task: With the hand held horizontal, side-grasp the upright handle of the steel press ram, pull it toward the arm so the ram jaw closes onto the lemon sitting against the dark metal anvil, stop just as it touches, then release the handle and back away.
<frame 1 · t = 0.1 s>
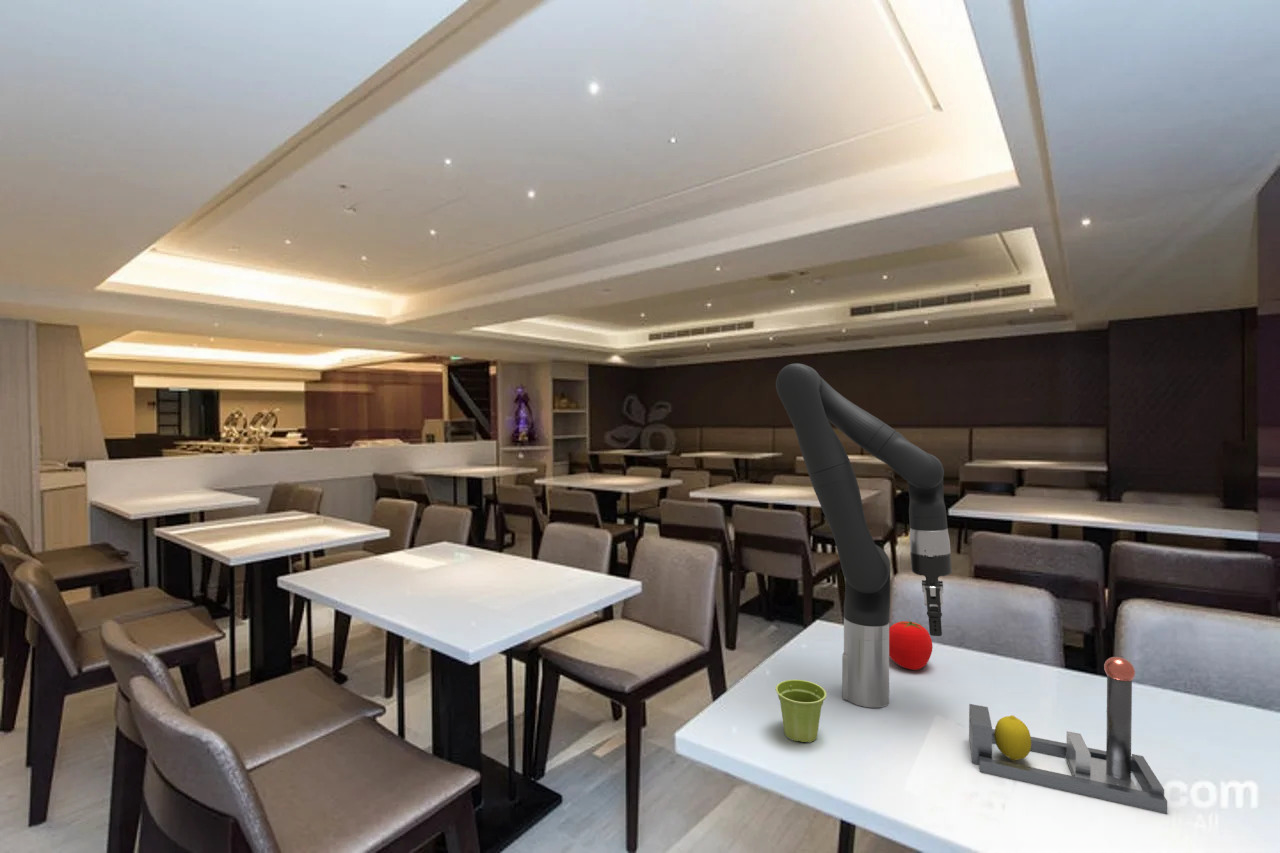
hand: (935, 628, 122), 17 cm above the table, tool pointing down, fingers open, 8 cm apart
plant pot: (800, 736, 113), on the table
ram: (1102, 716, 99), point 11 cm above the table, slide at 0.0 cm
lemon: (1012, 761, 105), resting in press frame
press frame: (1049, 768, 102), on the table
tomato: (909, 666, 144), on the table
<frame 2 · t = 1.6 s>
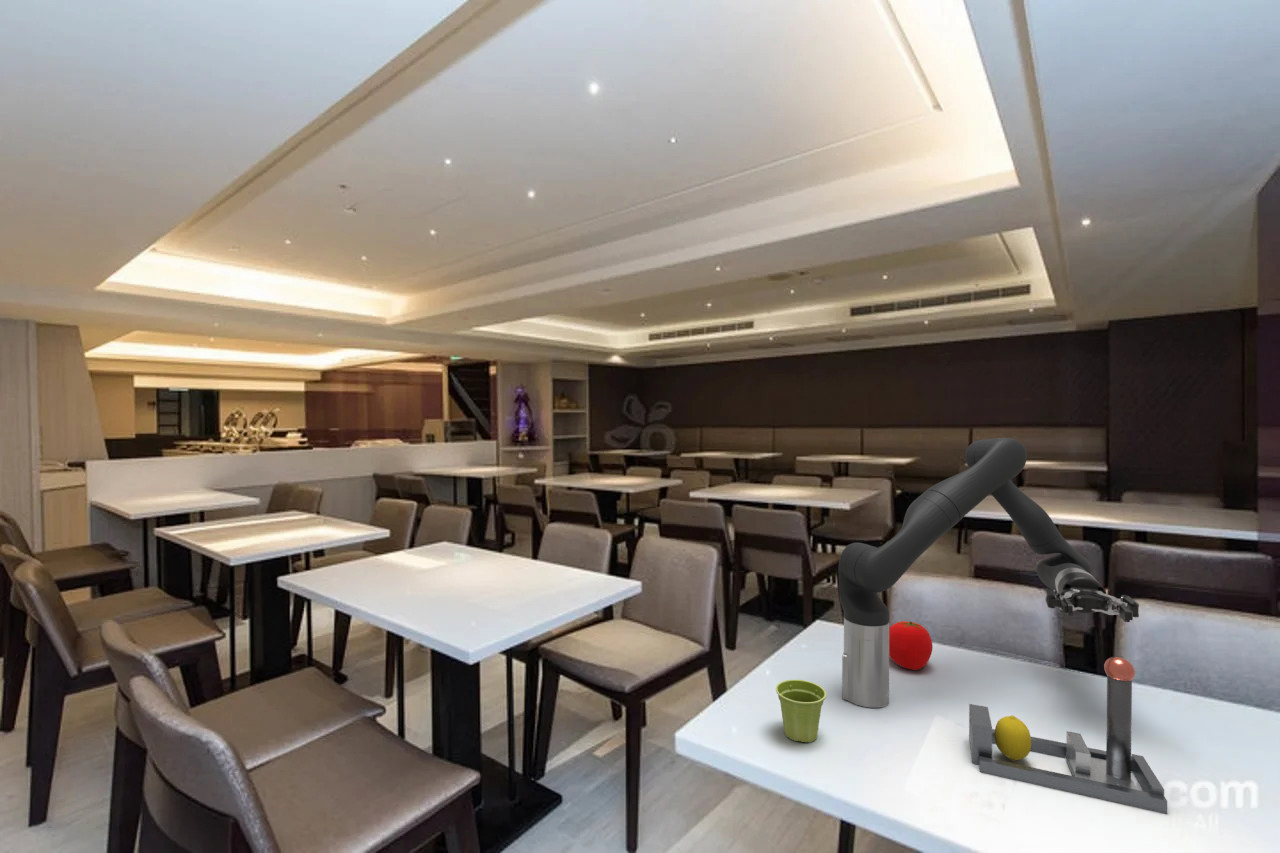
hand: (1098, 613, 110), 24 cm above the table, tool horizontal, fingers open, 8 cm apart
nothing on the table moved.
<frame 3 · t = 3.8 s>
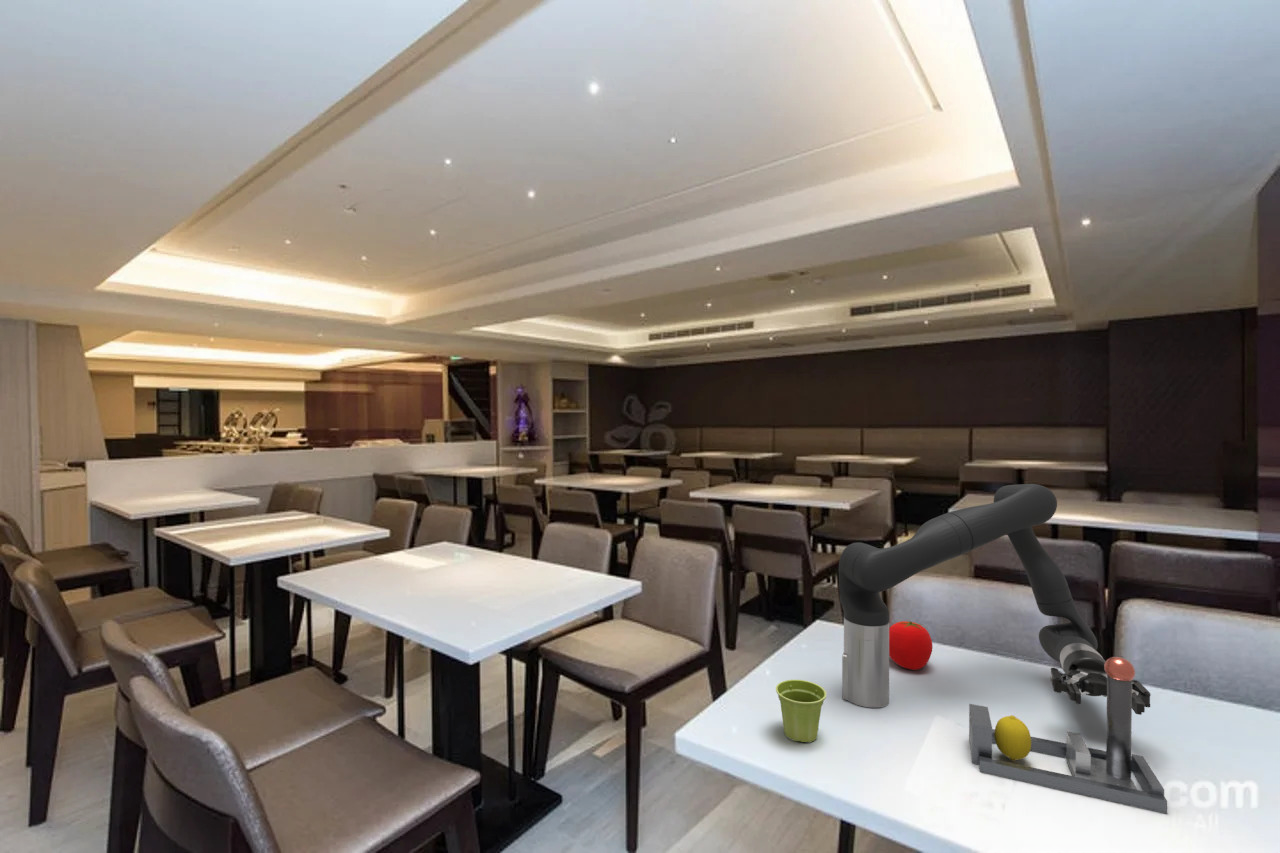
hand: (1108, 704, 103), 10 cm above the table, tool horizontal, fingers open, 8 cm apart
nothing on the table moved.
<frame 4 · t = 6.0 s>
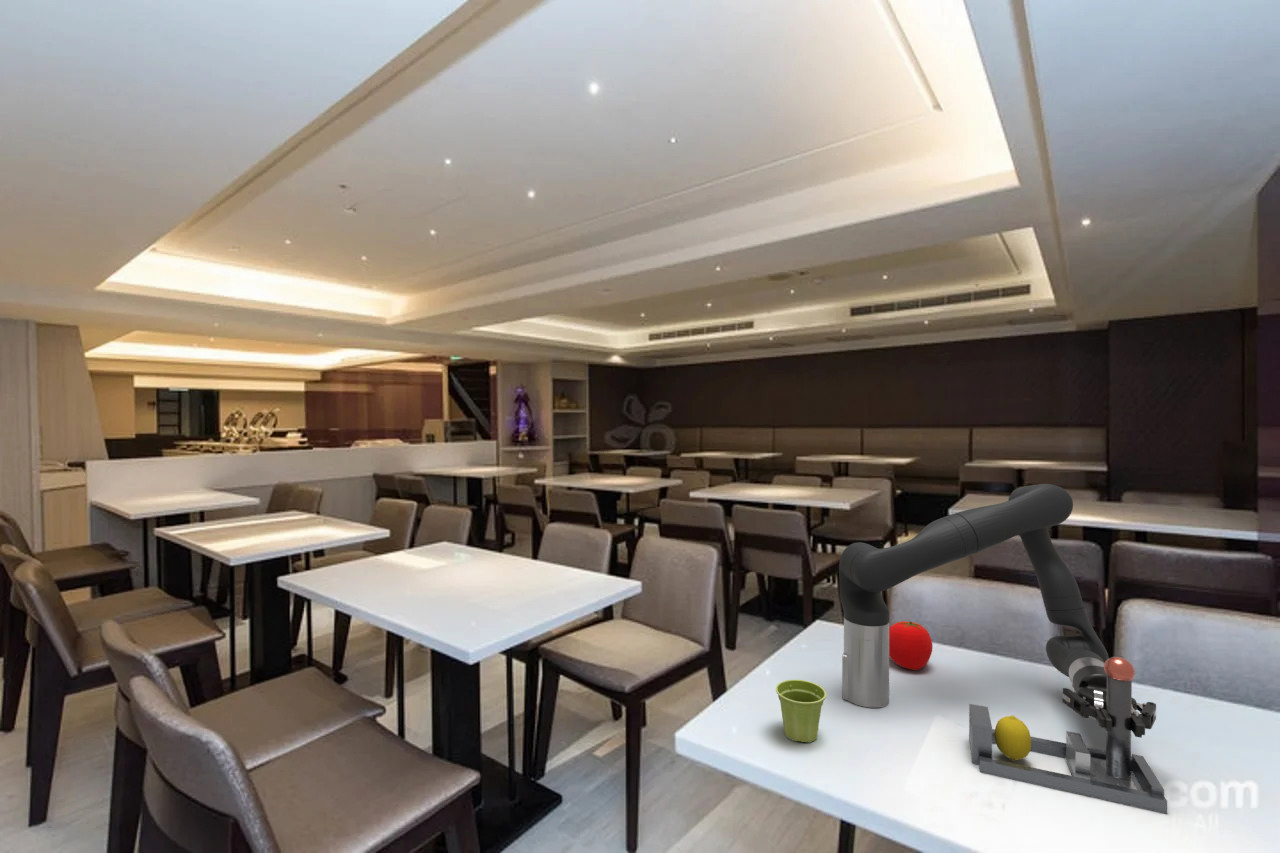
hand: (1124, 728, 95), 10 cm above the table, tool horizontal, fingers closed on ram, 3 cm apart
ram: (1101, 716, 99), point 11 cm above the table, slide at 0.0 cm, touching gripper
everything else where it was.
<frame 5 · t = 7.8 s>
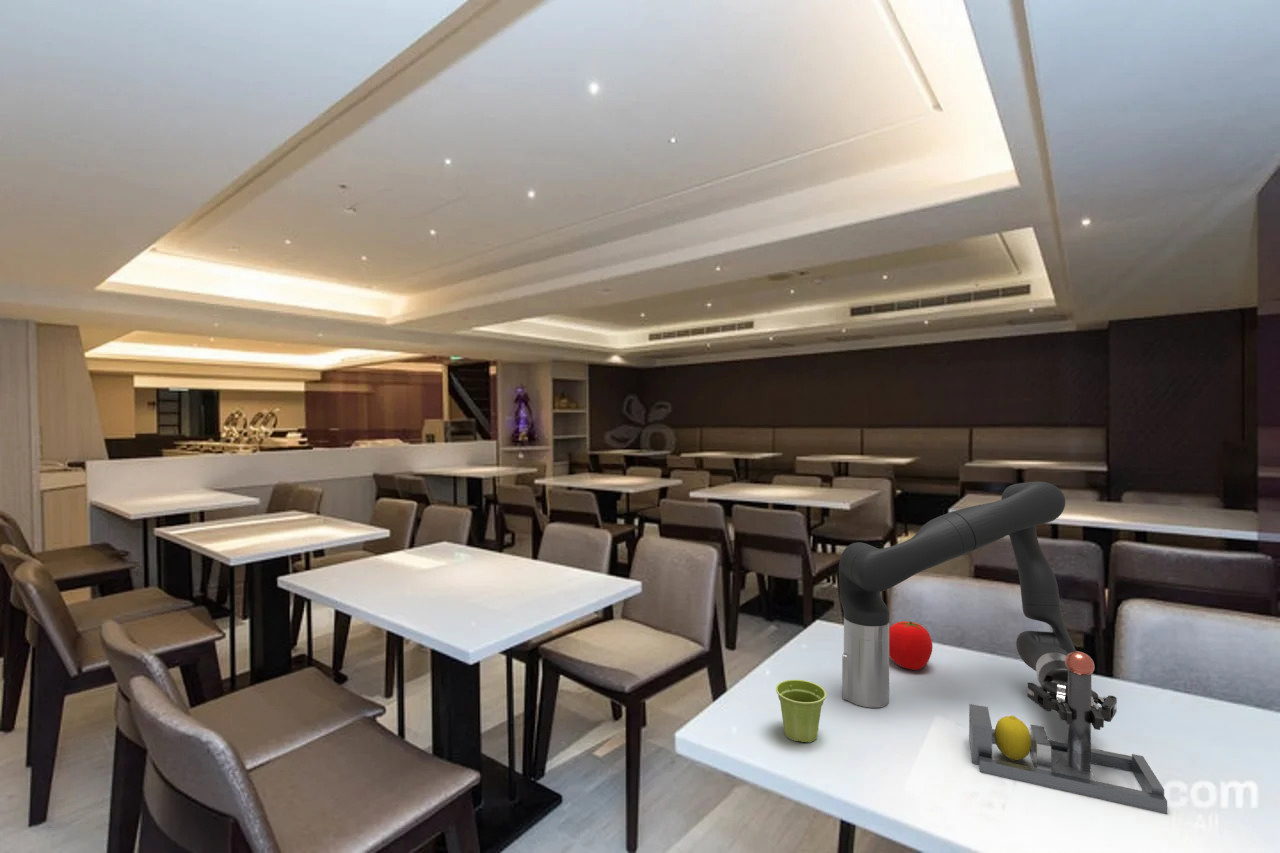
hand: (1083, 721, 98), 11 cm above the table, tool horizontal, fingers closed on ram, 3 cm apart
ram: (1063, 709, 101), point 11 cm above the table, slide at 5.4 cm, touching gripper
everything else where it was.
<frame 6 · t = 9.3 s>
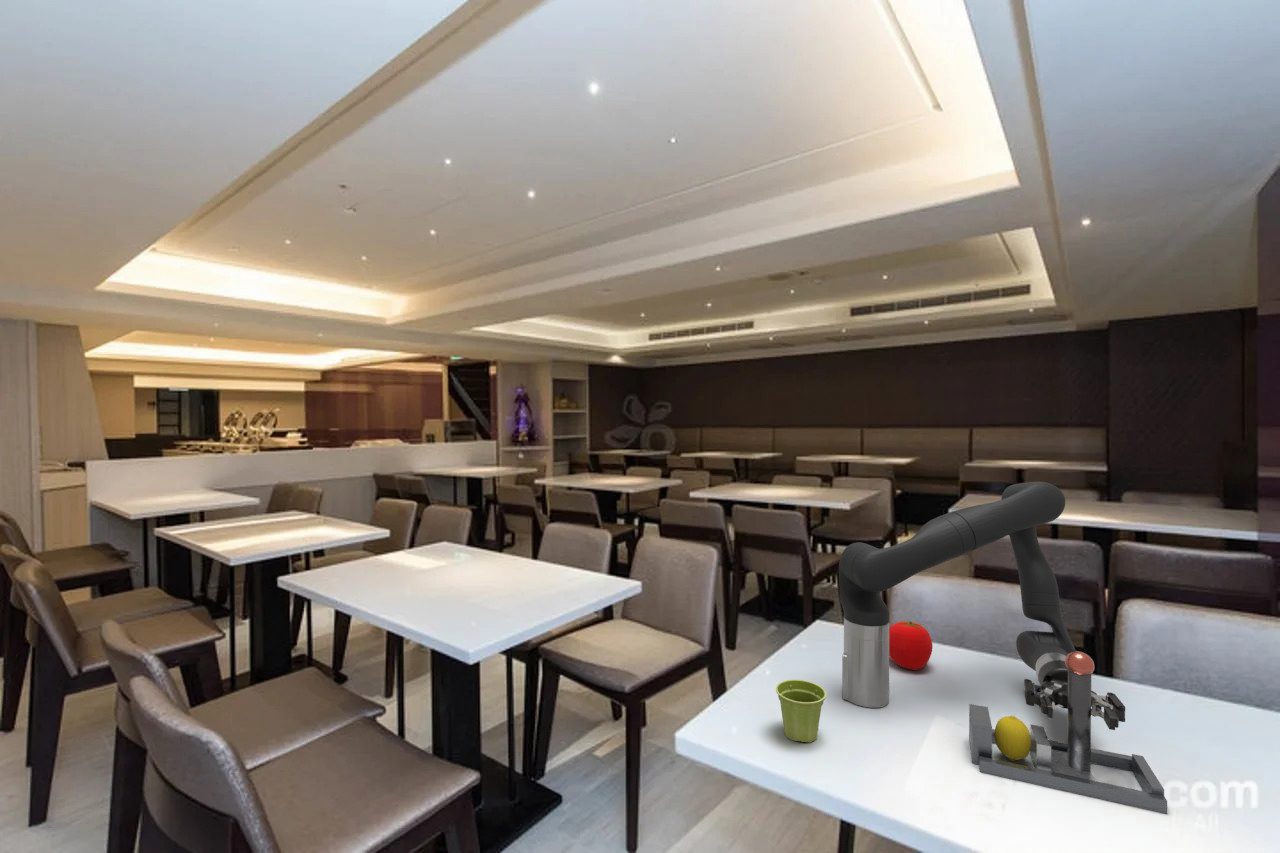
hand: (1081, 718, 99), 10 cm above the table, tool horizontal, fingers open, 8 cm apart
ram: (1063, 709, 101), point 11 cm above the table, slide at 5.4 cm
everything else where it was.
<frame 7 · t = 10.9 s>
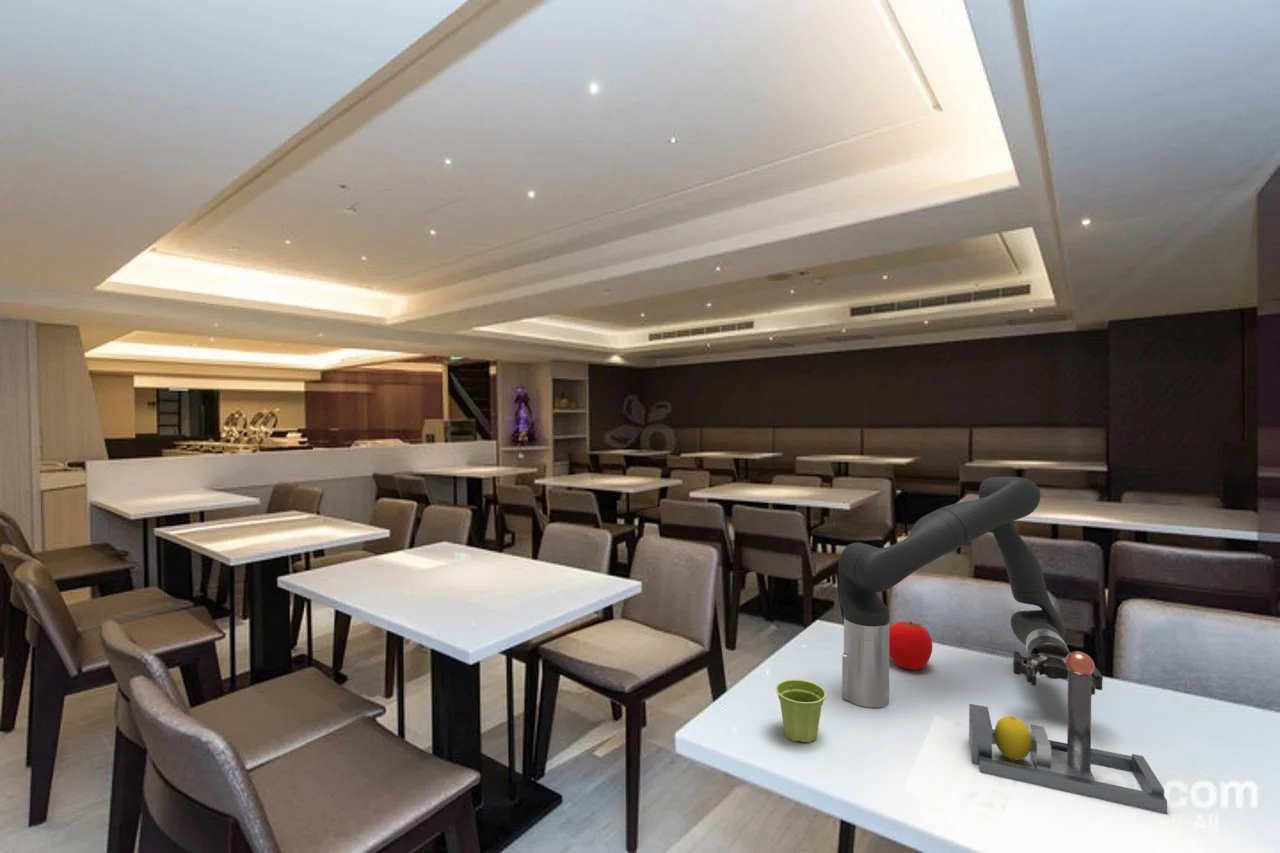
hand: (1061, 686, 110), 10 cm above the table, tool horizontal, fingers open, 8 cm apart
nothing on the table moved.
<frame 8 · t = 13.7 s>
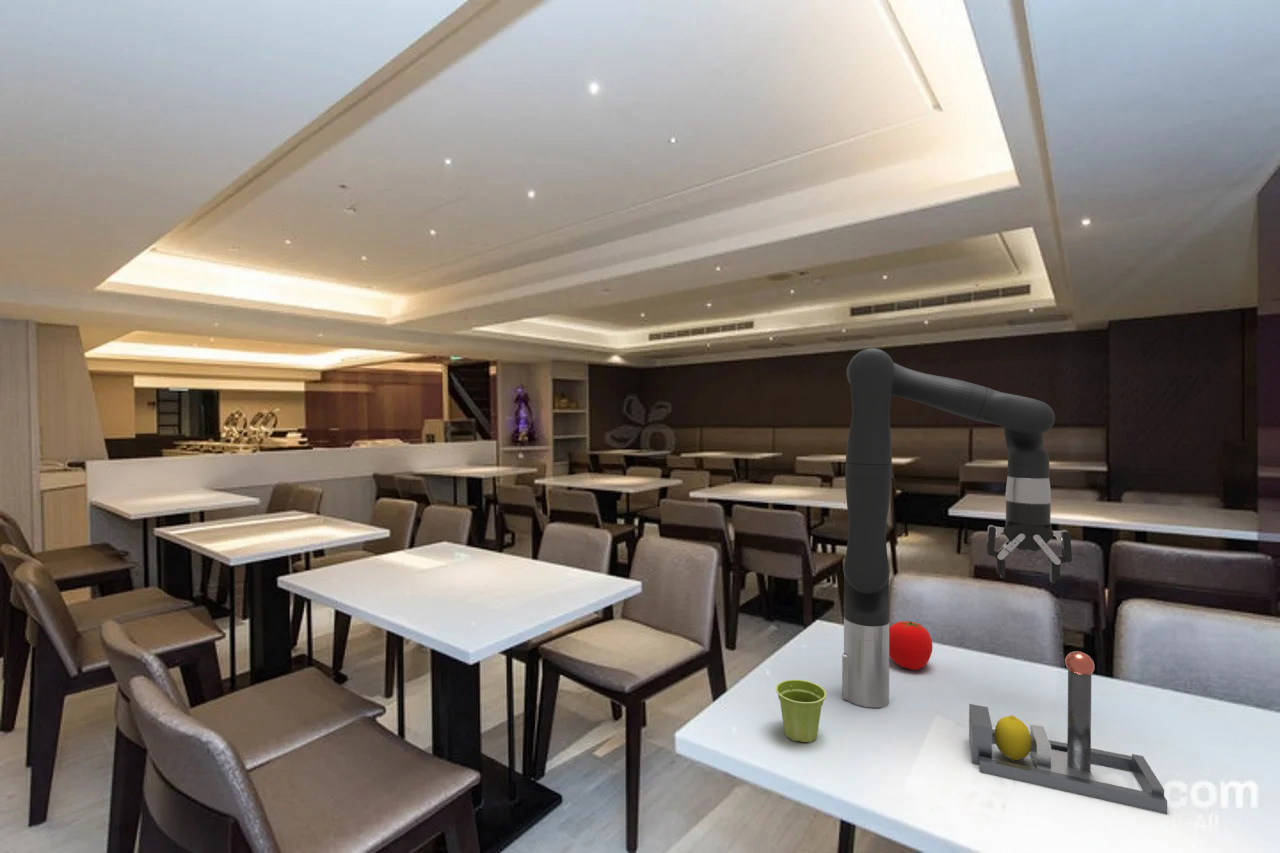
hand: (1027, 579, 119), 28 cm above the table, tool pointing down, fingers open, 8 cm apart
nothing on the table moved.
at the end: ram slide at 5.4 cm; lemon moved 0.2 cm from its start; the gripper is holding nothing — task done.
